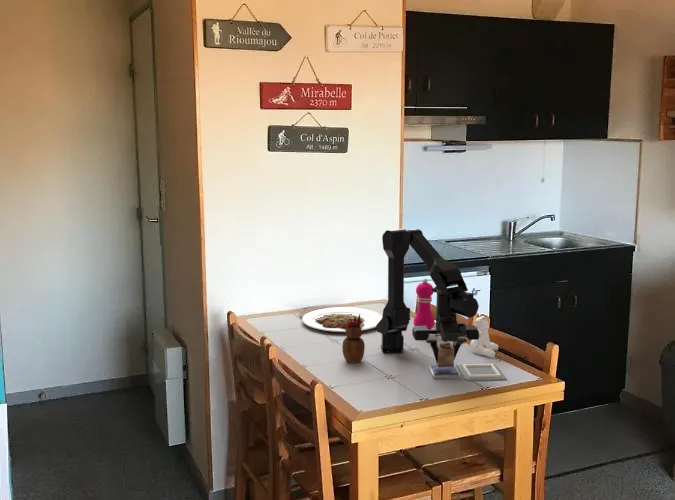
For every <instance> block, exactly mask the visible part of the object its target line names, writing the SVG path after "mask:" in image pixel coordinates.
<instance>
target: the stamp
mask: <svg viewBox="0 0 675 500" xmlns="http://www.w3.org/2000/svg"><path fill="white" fill-rule="evenodd" d="M437 353H438V361H436V360H435V363H436V365H438V367H454V365H455V359H454V347H453V343H450V341H448V342H444V341H440V343H437Z"/></svg>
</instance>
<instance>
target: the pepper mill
mask: <svg viewBox="0 0 675 500" xmlns="http://www.w3.org/2000/svg"><path fill="white" fill-rule="evenodd" d="M421 281H422V282H420V283H419V284H417V285H416V289H415V293H416V295H418V296H417V299H416V300H417V302H418V308H417V311H416V314H415V316H414V318H413V325H414V326H426V327H427V329H433V328H434V326H435V325H436V321H435V318H434V315H433V313H432V309H431V302H432V301H433V300H432V299H433V294H434V292H432V289H433V288H434V286H433V285H432V284H431V283H429V281H428V279H427V278H423V279H422V280H421ZM414 326H413V327H414Z"/></svg>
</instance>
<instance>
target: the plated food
mask: <svg viewBox="0 0 675 500" xmlns="http://www.w3.org/2000/svg"><path fill="white" fill-rule="evenodd" d="M350 314H352V315H350ZM359 314H360V328H361V330H362V331H367V330H372V329H374V328H376V325H377V324H378V323H379V321H380V320H381V319H382V316H383V314H381V313H380V312H377V311H376V310H372V309H366V308H360V307H354V306H353V307H349V306H347V307H346V306H339V307H325V308H320V309H316V310H312V311H309V312H306V313H305V314H304V315H303V316H302V319H301V320H302V323H303V324H304V325H306V326H308V327H309V328H312V329H315V330H319V331H324V332H325V331H326V332H331V333H346V328H347V327H348V322H350V324H351V319H352V321H353V322H354V316H355V318H356V323H357V321H358V317H359ZM324 315H328V316H327V317H325V318H322V319H320V320H319V319H317V318H320V317H323V316H324ZM315 319H317V320H315Z"/></svg>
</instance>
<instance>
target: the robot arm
mask: <svg viewBox="0 0 675 500" xmlns="http://www.w3.org/2000/svg"><path fill="white" fill-rule="evenodd" d="M381 237H382V249H383V251H384V252H385V254H386V256H387V269H388V270H387V302H386V303H385V304H386V305H384V307H383V310H382V319H381V320H380V321H379V323H378V324H377V325H376V327H375V328H376V333H379V334H381V344H380V349H381V352H382V353H388V354H389V353H403V352H404V351H403V349H404V341H405V339H404V334H403V332H406V331H407V329H408V326H409V324H410V321H411V309H410V307H408V306H407V305H406V303H405V300H404V299H405V298H404V297H405V292H404V291H405V286H404V285H405V258H406V257H405V256H406V254H407V253H408V251H409V250H410V247H411V248H412V250H414V252H415V253H416V254H417V255H418V257H420V259H421V260H422V262H423V263H424V264H425V265H426V267H427V268H428V270H429V277H430V278H431V280H432V282H433V283H434V285H435V286H434V287H433V289H432V292H433V293H436V304H435V305H436V307H435V309H436V310H435V328H434V329H433V328H432V329H427V327H426V326H413V327H412V332H411V334H412V336H413V338H414V341H425V342H426V343H427V344H428V343H429V344H430V346H431V350H432V352H433V356H434V360H435V362H436V361H438V353H437V344H438V341H437V339H436V337H438V336H439V337H440V338H441V339H440V340H441V342H452V346H453V347H454V360H455V359H456V357H457V354H458V353H459V349H460V348H461V346H462V345H463V344H464V343H467V342H468V340H470V341H472V340H478V339H479V331H478V328H477V327H476V325H474V324H466V323H458V321H457V315H459V316H462V317H466V318H468V319H472V318H474V317H475V316H476V315H477V314H478V310H479V307H480V305H479V302H478V300H477V299H476V298H475V297H474V293H473V292H468V291H469V288H468V287H467V284H466V282H465V280H464V278H463V274H462V272H461V270H460V268H458V266H457V265H455V264H454V263H453V262H452V261H450V260H448V259H445V258H444V257H442V256H441V255H440V253H439V252H438V251H437V250H436V248H434V246H433V245H432V244H431V243H430V242H429V240H428V239H427V238H426V237H425V236H424V233H423V231H422V229H418V228H413V229H406V228H396V229H388V230H385V231H384V233H382V236H381Z"/></svg>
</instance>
